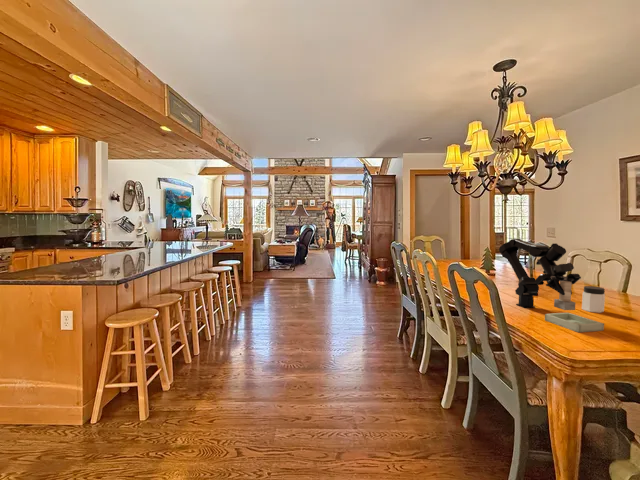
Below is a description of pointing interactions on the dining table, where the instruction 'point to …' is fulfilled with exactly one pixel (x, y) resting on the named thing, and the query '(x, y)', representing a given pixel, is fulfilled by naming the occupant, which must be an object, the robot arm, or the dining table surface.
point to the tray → (574, 322)
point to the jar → (593, 299)
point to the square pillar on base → (565, 297)
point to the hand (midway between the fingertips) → (567, 294)
